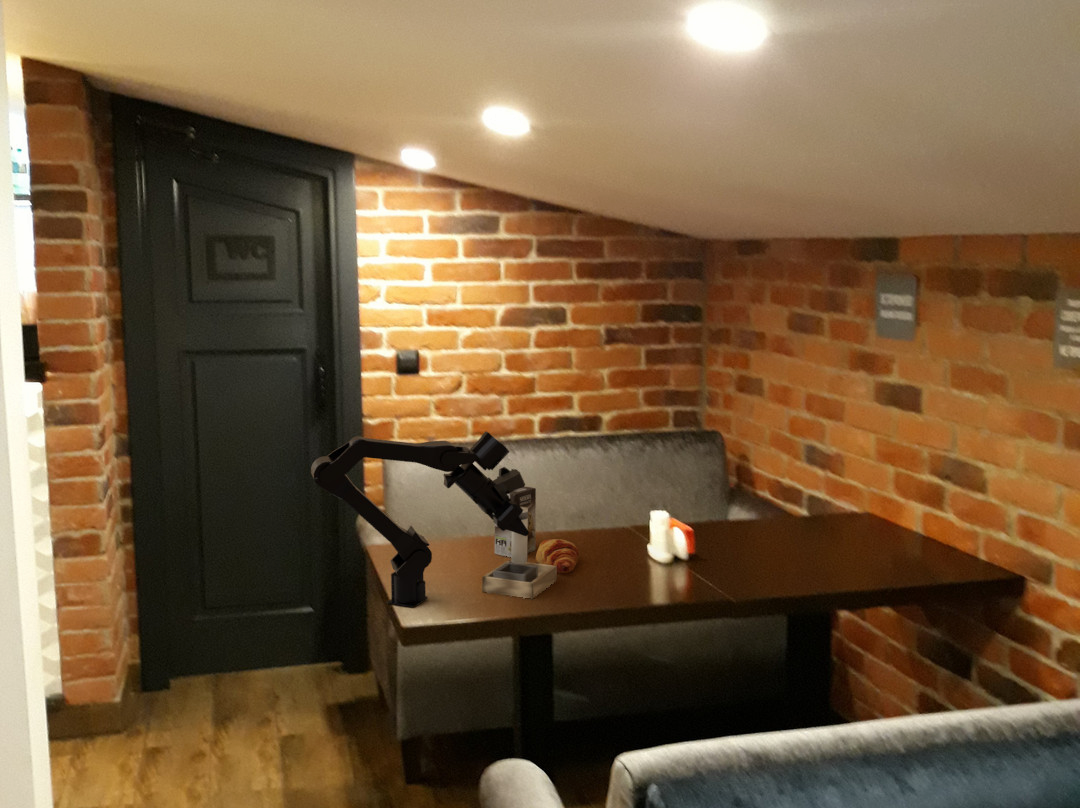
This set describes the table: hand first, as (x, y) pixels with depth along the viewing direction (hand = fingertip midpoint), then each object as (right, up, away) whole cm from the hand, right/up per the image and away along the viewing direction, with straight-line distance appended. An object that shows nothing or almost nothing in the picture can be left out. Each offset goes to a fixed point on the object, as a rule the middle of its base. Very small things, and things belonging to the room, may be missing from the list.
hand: (525, 532), depth 235 cm
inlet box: (-1, -13, +5) cm, 14 cm away
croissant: (+7, -11, +21) cm, 25 cm away
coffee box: (-3, -9, +31) cm, 33 cm away
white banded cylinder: (-1, -7, +1) cm, 7 cm away
